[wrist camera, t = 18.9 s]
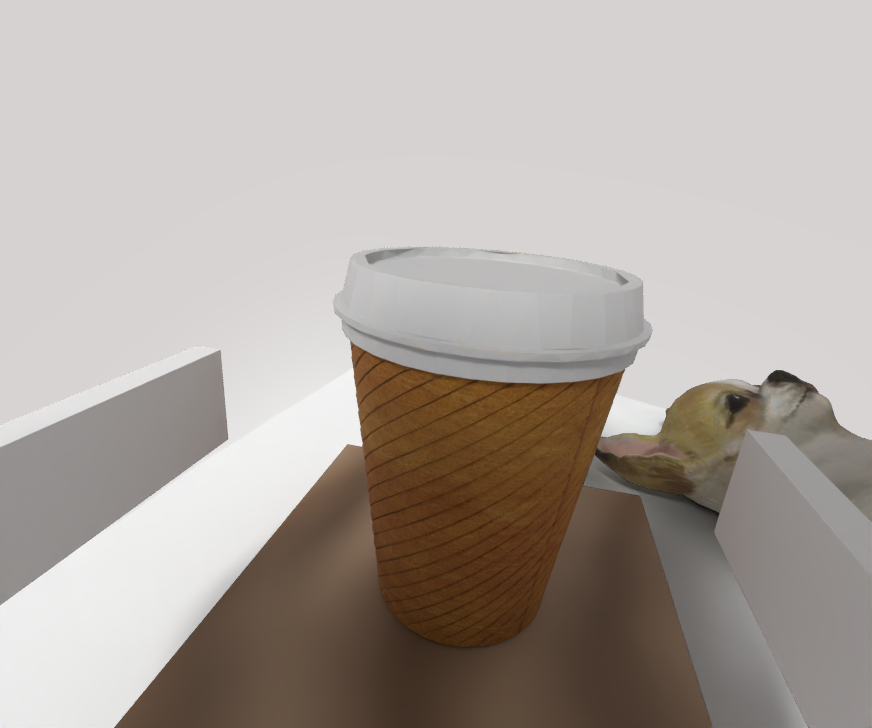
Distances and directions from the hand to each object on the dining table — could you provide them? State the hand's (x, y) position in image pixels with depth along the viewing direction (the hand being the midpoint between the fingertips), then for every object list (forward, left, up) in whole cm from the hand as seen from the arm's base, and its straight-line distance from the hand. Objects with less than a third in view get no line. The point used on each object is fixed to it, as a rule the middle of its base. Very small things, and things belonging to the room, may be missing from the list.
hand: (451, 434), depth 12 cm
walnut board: (0, -4, -10) cm, 11 cm away
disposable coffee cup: (0, -4, -8) cm, 9 cm away
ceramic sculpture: (-14, -15, -10) cm, 23 cm away
